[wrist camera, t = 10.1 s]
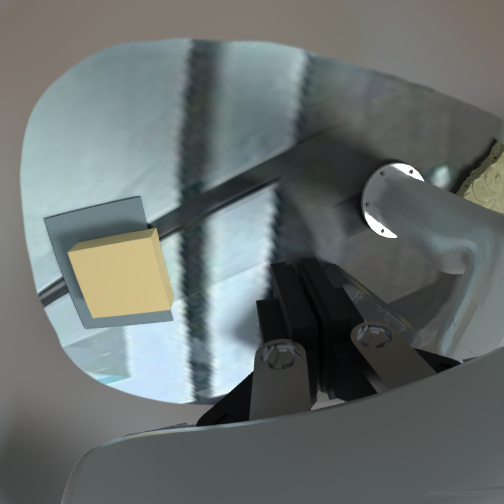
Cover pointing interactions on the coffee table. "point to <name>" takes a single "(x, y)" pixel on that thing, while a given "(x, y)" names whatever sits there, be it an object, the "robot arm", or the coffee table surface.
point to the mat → (93, 227)
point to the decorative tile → (487, 181)
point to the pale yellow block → (122, 274)
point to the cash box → (371, 305)
